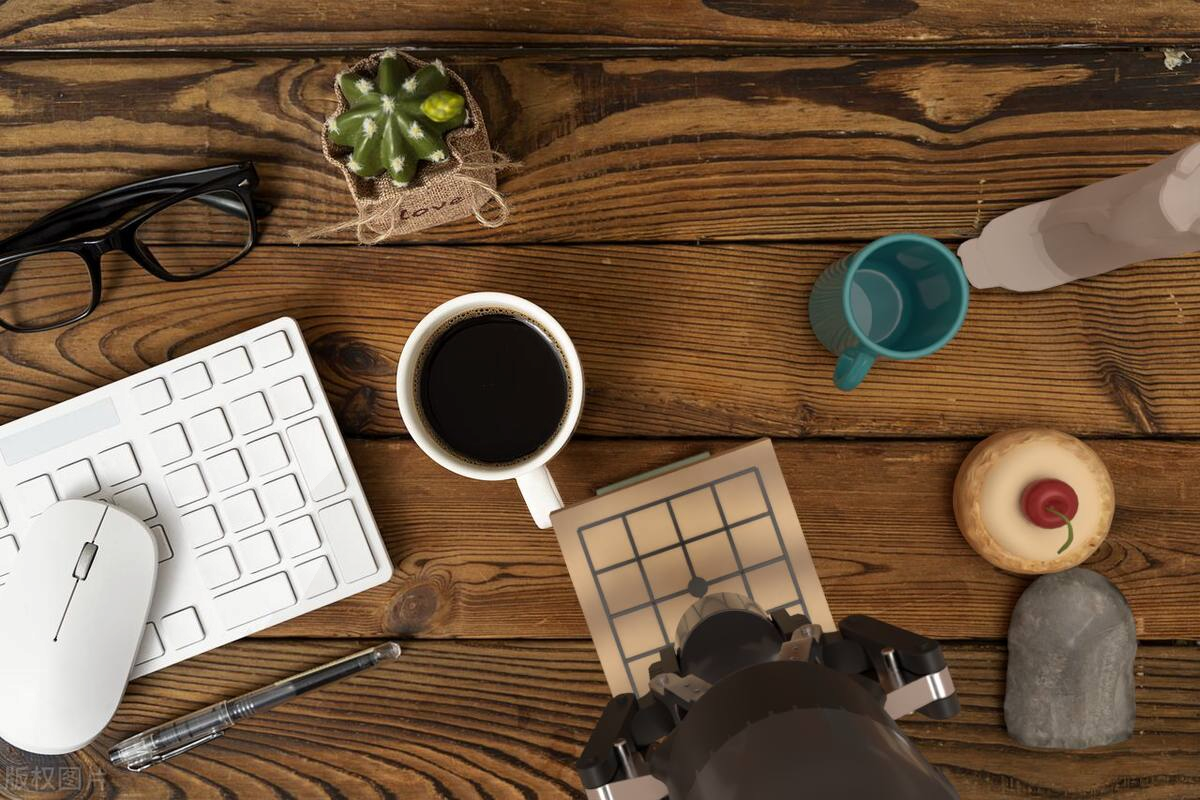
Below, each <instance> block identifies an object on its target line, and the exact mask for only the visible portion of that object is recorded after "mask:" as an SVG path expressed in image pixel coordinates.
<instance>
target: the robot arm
mask: <svg viewBox="0 0 1200 800" xmlns="http://www.w3.org/2000/svg"><path fill="white" fill-rule="evenodd" d="M770 616H771V619H772V622H773V623H774V625H775V626H776V628H777V629H778V630H779V632H780V634H781V635H782V638H783V640H784V643H783V644H782V647H781V650H780V654H779V657H778V660H777V661H769V662H763V663H758V664H755V665H751V666H748V667H745V668H743V669H740V670H738V671H736V672H734V673H732V674H730V675H728V676H726V677H725V678H723V679H721V680H720V681H718V682H717V683H716V684H714V685H711V684H709V683H707V682H706V681H704V680H702V679H700V678H698V677H696V676H694V675H693V674H690V675H688V676H686V677H684V678H683V677H682V674H681V671H680V667H679V663H678V659H677V655H676V652H675V649H674V647H673V646H671V647H668V648H665V649H662V650H659V653H660V658H661V661H658V662H655V663H652V664H651V665H650V667H649V668H648V671H649V678H650V682H649V683H648V685H649V688H650V691H649V692H648V693H647V694H646V695H644V696H643V697H641V698H639V699H637V698H636V695H635V694H634V693H622V694H619V695H617V696H615V697H614V698H613V697H612V698H611V699H610V700H609V701H608V702H607V704H606V706H605V707H604V709H603V711H602V713H601V715H600V717H599V719H598V721H597V723H596V725H595V726H594V728H593V731H592V732H591V734H590V736H589V738H588V740H587V742H586V744H585V745H584V748H583V750H582V751H581V753H580V755H579V758H578V759H577V761H576V763H575V768H576V771H577V774H578V777H579V779H580V782H581V785H582V788H583V791H584V794H585V797H586V800H963V798H962V797H961V795H960V794H959V792H958V791H957V789H956V788H955V786H954V785H953V783H952V782H951V781H950V779H949V778H948V777H947V775H946V773H944V771H942V769H941V768H940V767H939V768H938V767H936V765H934V764H931V763H930V762H929V760H928V759H927V758H926V757H925V755H924V754H923V753H922V752H921V751H920V750H919V749H918V748H917V746H916V745H915V744H914V742H912V740H911V738H909V736H908V735H907V734H906V733H905V732H904V731H903V730H902V728H901V727H900V726H899V724H898V723H897V720H898V719H899V718H902V717H904V716H911V715H913V714H914V713H919V714H920V715H922V716H925V717H926V718H928V719H931V720H933V721H943V720H948V719H952V718H955V717H957V716H958V715H959V714H960V713H961V712H962V706H961V703H960V699H959V697H958V694H957V691H956V686H955V683H954V680H953V677H952V674H951V671H950V669H949V666H948V662H946V658H945V655H944V652H943V650H942V646H941V644H940V642H939V641H938V640H936V639H933V638H930V637H927V636H925V635H923V634H919V633H916V632H914V631H911V630H908V629H905V628H902V627H900V626H896V625H894V624H891V623H889V622H886V621H884V620H880V619H878V618H875V617H871V616H868V615H866V614H862V613H861V614H860V613H859V614H858V613H857V614H850V615H847V616H845V617H843V618H842V619H840V620H839V621H838V622H837V628H838V630H837V631H834V632H823V630H822V627H821V625H819V624H812V623H811V622H810V621H809V620H808V618H807V617H806V616H805V615H803V614H799V613H798V614H795V615H792V616H790V615H789V613H788V612H787V611H786V610H785V608H782V609H779V610H776V611H773V612H770ZM664 737H665V738H664ZM662 738H664V739H662ZM661 739H662V741H661V742H660V743H659V744H658V745H657V746H656V747H654V744H653V743H654V742H656V741H658V740H661Z"/></svg>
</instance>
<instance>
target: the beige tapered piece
mask: <svg viewBox="0 0 1200 800" xmlns="http://www.w3.org/2000/svg"><path fill="white" fill-rule="evenodd" d="M1195 252H1200V140H1199V141H1196V142H1195V143H1192V144H1190V145H1188V146H1186V147H1184V148H1182V149H1180V150H1178V151H1176V152H1174V153H1173V154H1170V155H1169V156H1167V157H1164V158H1162V159H1161V160H1159V161H1157V162H1155V163H1153V164H1151V165H1148V166H1146V167H1143V168H1140V169H1138V170H1135V171H1131V172H1128V173H1126V174H1125V173H1124V174H1121V175H1118V176H1114V177H1111V178H1107V179H1104V180H1101V181H1098V182H1095V183H1092V184H1088V185H1086V186H1084V187H1080V188H1078V189H1076V190H1073V191H1071V192H1067V193H1065V194H1063V195H1060V196H1058V197H1055V198H1052V199H1048V200H1043V201H1039V202H1035V203H1032V204H1029V205H1025V206H1022V207H1018V208H1015V209H1013V210H1011V211H1009V212H1007V213H1005V214H1002V215H1000V216H998V217H995V218H993V219H991V220H990V221H989V222H988V223H987V224H986V225H985V226H984V227H983V228H982V230H981V233H980V235H979V237H974V238H971V239H968V240H966V241H964V242H963V243H961V244H960V245H959V247H958V248H957V256H958V257H960V259H961V265H962V267H963V269H964V272H965V274H966V277H967V281H968V283H970V284H971V285H972V287H974V288H977V289H978V290H981V289H982V290H983V289H990V288H997V287H1000V288H1003V289H1006V290H1008V291H1013V292H1018V293H1023V292H1024V293H1025V292H1038V291H1039V292H1040V291H1043V290H1046V289H1050V288H1054V287H1057V286H1061V285H1065V284H1067V283H1071V282H1074V281H1076V280H1081V279H1084V278H1090V277H1095V276H1098V275H1101V274H1105V273H1107V272H1111V271H1114V270H1116V269H1119V268H1122V267H1125V266H1128V265H1131V264H1136V263H1139V262H1140V263H1141V262H1145V261H1151V260H1157V259H1162V258H1170V257H1176V256H1183V255H1187V254H1192V253H1195Z"/></svg>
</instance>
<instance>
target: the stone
mask: <svg viewBox="0 0 1200 800" xmlns="http://www.w3.org/2000/svg"><path fill="white" fill-rule="evenodd" d="M1006 635H1007V637H1006V638H1007V650H1008V656H1007V657H1008V662H1007V670H1006V683H1005V684H1006V685H1005V696H1004V701H1003V712H1004V713H1003V719H1004V722H1005V725H1006V730H1007V731H1006V735H1007V737H1009V738H1010V739H1012V740H1014V741H1015V742H1017V743H1018V744H1020V745H1021V746H1025V747H1030V748H1031V747H1032V748H1044V749H1045V748H1046V749H1058V750H1060V749H1061V750H1078V751H1079V750H1086V749H1089V748H1094V747H1109V746H1114V745H1117V744H1120V743H1123V742H1126V741H1129V740H1131V739H1132V738H1133V733H1134V731H1135V720H1136V718H1137V703H1136V679H1135V675H1134V667H1135V666H1134V665H1135V659H1136V656H1137V652H1138V642H1137V626H1136V621H1135V615H1134V612H1133V610H1132V608H1131V606H1130V604H1129V602H1128V600H1127V598H1126V596H1125V594H1124V593H1123V591H1121V589H1120V588H1119V587H1118V586H1117V585H1116V584H1115V582H1113V581H1112V580H1110V579H1109V578H1107V577H1106V576H1104V575H1102V574H1101V573H1099V572H1097V571H1094V570H1091V569H1089V568H1084V567H1079V566H1075V567H1072V568H1069V569H1067V570H1063V571H1060V572H1055V573H1046V574H1041V575H1039V576H1038V577H1037V578H1036V579H1035V580H1033V582H1032V583H1030V584H1029V586H1027V588H1026V589H1025V590H1023V592H1022V593H1021V595H1020V597H1019V598H1018V599H1017V601H1016V604H1015V606H1014V608H1013V611H1012V613H1011V617H1010V621H1009V626H1008V630H1007V634H1006Z"/></svg>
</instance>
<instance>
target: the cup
mask: <svg viewBox="0 0 1200 800" xmlns="http://www.w3.org/2000/svg"><path fill="white" fill-rule="evenodd" d="M969 305H970V286H969V280H968V278H967V276H966V274H965V272H964V269H963V264H962V262H960V259H958V258H957V256H956V255H955V254H954V253H953V252H952V250H950V248H948V247H947V246H946V245H944V244H943V243H942V242H940V241H939V240H937V239H935V238H933V237H931V236H928V235H925V234H922V233H921V234H920V233H915V232H899V233H898V232H897V233H892V234H887V235H885V236H882V237H879V238H878V239H876V240H874V241H872V242H870V243H868V244H866V245H864V246H862V247H860V248H858V249H857V250H855V251H852V252H850V253H848V254H847V255H845V256H843V257H841V258H838V259H837V260H835V261H833V262H832V263H831V264H829V265H828V266H827V267H826V268H825V269H824V270H823V271H821V273H820V274H819V275H818V277H817V279H816V280H815V282H814V284H813V286H812V288H811V291H810V294H809V298H808V307H807V309H808V310H807V311H808V319H809V323H810V326H811V329H812V332H813V333H814V335H815V337H816V338H817V340H818V342H819V343H820V344H821V345H822V346H823V347H824V348H825V350H827V351H829V352H830V353H831V354H832V355H834V356H837V357H838V358H837V360H836V362H835V366H834V370H833V373H832V383H833V386H834V387H835V388H836V389H838V390H839V391H841V392H845V393H849V392H852V391H854V390H856V389H857V387H859V386H860V384H861V383H862V382H863V381H864V380H865V378H866V377H867V375H868V374H869V372H870V371H871V370H872V369H871V368H872V367H873V365H874V364H875V363H877V362H894V361H910V360H917V359H921V358H924V357H928V356H930V355H932V354H934V353H936V352H938V351H940V350H941V349H943V348H944V347H946V345H947V344H949V343H950V342H951V341H952V340H953V339H954V338H955V336H956V335H957V334H958V333H959V331H960V329H961V328H962V326H963V324H964V322H965V319H966V317H967V314H968V309H969Z"/></svg>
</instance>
